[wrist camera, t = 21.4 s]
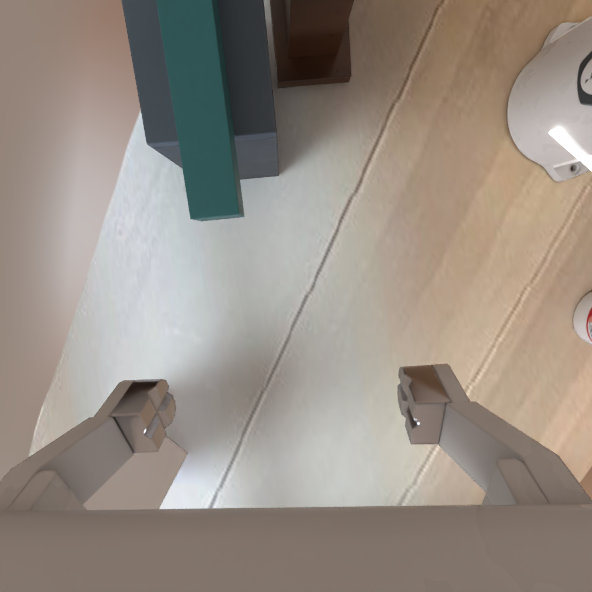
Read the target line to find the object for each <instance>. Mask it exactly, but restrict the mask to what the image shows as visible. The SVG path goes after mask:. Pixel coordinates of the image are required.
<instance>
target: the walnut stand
mask: <svg viewBox="0 0 592 592" xmlns="http://www.w3.org/2000/svg"><path fill="white" fill-rule="evenodd" d="M353 2H354V0H270V7H271V18H272V28H273V38H274V49H275V59H276V69H277V80H278V88H283V87H294V86H306V85H317V84H329V83H341V82H349V80H350V78H351V60H350V42H349V24H348V19H349V15H350V12H351V9H352V5H353Z"/></svg>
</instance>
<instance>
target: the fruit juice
mask: <svg viewBox="0 0 592 592" xmlns="http://www.w3.org/2000/svg"><path fill="white" fill-rule="evenodd" d="M573 324H574V329H575V331H576V333H577V335H578V336H579V337H580V338H581V339H582V340H583V341H585V342H586V343H588V344H590V345H592V291H591V292H589V293H588V294H587V295H585V296H584V297H583V298H582V300H581V301H580V302H579V304H578V305H577V307H576V310H575V312H574V317H573Z"/></svg>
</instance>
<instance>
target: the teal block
mask: <svg viewBox="0 0 592 592" xmlns="http://www.w3.org/2000/svg"><path fill="white" fill-rule="evenodd" d="M156 2H157V9H158V15H159V21H160V28H161V34H162V40H163V47H164V53H165V60H166V66H167V72H168V79H169V85H170V91H171V98H172V104H173V110H174V117H175V123H176V129H177V136H178V142H179V149H180V155H181V161H182V168H183V174H184V180H185V187H186V193H187V199H188V206H189V212H190V218H191V219H193V220H198V221H208V220H219V219H229V218H239V217H244V209H243V201H242V193H241V185H240V177H239V169H238V161H237V153H236V145H235V137H234V129H233V121H232V113H231V105H230V97H229V89H228V81H227V73H226V65H225V57H224V49H223V41H222V33H221V25H220V17H219V9H218V1H217V0H156Z"/></svg>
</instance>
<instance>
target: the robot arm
mask: <svg viewBox="0 0 592 592" xmlns="http://www.w3.org/2000/svg"><path fill="white" fill-rule="evenodd" d="M507 119H508V126H509V130H510V134H511V136H512V139H513V141H514V143H515V144H516V146H517V147H518V149H519V150H520V151H521V152H522V153H523V154H524V155H525V156H526V157H528V158H529V159H531V160H532V161H534V162H536V163H538V164H540V165H542V166H543V167H544V168H545V169H546V171H547V172H548V174H549V175H550V176H551V177H552V179H554V180H555V181H557V182H562V181H565V180H568V179H571V178H573V177H576V176H578V175H581V174H583V173H586V172H588V171H592V16H590V17H589V18H587V19H586V20H584V21H583V22H581V23H572V22H564V23H562V24H560V25H558V26H557V27H555V28H554V29H553V30H552V31H551V32H550V33H549V35H548V37H547V39H546V41H545V43H544V45H543V47H542V49H541V50H540V52H539V53H538V54H537V55H536V56H535V57H534V58H533V59H532V60H531V61H530V62H529V63H528V64H527V65H526V66H525V67H524V68H523V70H522V71H521V72H520V74H519V76H518V77H517V79H516V81H515V83H514V85H513V87H512V90H511V93H510V97H509V101H508V109H507ZM571 167H572V170H571V169H570V168H571ZM398 376H399V379H400V382H401V383H400V384H399V385H398V391H397V394H398V403H399V408H400V411H401V414H402V415H403V416H404V417H405V418H406V421H405V427H406V430H407V434H408V437H409V440H410V443H411V444H439V446H440V447H441V448H442V449H443V450H444V451H445V452H446V453H447V454H448V455H449V456H450V457H451V458H452V459H453V460H454V461H455V462H456V463H457V464H458V465H459V466H460V467H461V468H462V469H463V470H464V471H465V472H466V473H467V474H468V475H469V476H470V477H471V478H472V479H473V480H474V481H475V482H476V483H477V484H478V485H479V486H480V487H481V488H482V489H483V490H484V491H485V492H486V494H485V497H484V500H483V503H482V505H444V506H367V507H295V508H218V509H140V510H87V509H86V508H85V506H84V505H83V504H84V503H85V502H86V501H87V500H88V499H89V498H91V497H92V496H93V495H94V494H95V493H96V492H97V491H98V490H99V489H100V488H101V487H102V486H103V485H104V484H105V483H106V482H107V481H108V480H109V479H110V478H111V477H112V476H113V475H114V474H115V473H116V472H117V471H118V470H119V469H120V468H121V467H122V466H123V465H124V464H125V463H126V462H127V461H128V460H129V459H130V458H131V457H132V456H133V455H134V453H146V452H158V451H159V449H160V447H161V445H162V442H163V440H164V438H165V436H166V432H165V428H166V427H167V426H169V425H170V424H171V423H172V421H173V418H174V416H175V410H176V404H175V400H174V397H173V396H172V395H171V394H170V393H168V392H167V391H168V389H169V385H168V383H167V381H166V380H163V379H150V380H124V381H122V382H120V383H119V384H118V385H117V386H116V388H115V389H114V390H113V392H112V393H111V394H110V396H109V397H108V398H107V400H106V401H105V402H104V404H103V405H102V407H101V408H100V409H99V411H98V412H97V413H96V415H95V416H94V417H92V418H88V419H86V420H85V421H83V422H82V423H80V424H79V425H77V426H76V427H74V428H73V429H71V430H70V431H68V432H67V433H65V434H64V435H62V436H61V437H59V438H58V439H56V440H55V441H53V442H51V443H50V444H48V445H47V446H45V447H44V448H42V449H41V450H39V451H38V452H36V453H35V454H33V455H32V456H30V457H29V458H27V459H26V460H24V461H23V462H21V463H20V464H18V465H17V466H15V467H14V468H12V469H11V470H10V471H9V472H8V473H7V474H6V476H4V478H3V479H2V480H1V481H0V592H592V500H591V498H590V497H589V496H588V494H587V493H586V492H585V490H584V489H583V488H582V486H581V485H580V484H579V482H578V481H577V480H576V478H575V477H574V475H573V474H572V473H571V471H570V470H569V469H568V467H567V466H566V465H565V463H564V462H563V461H562V459H561V458H560V457H559V456H558V455H557V454H555V453H554V452H552V451H551V450H549V449H548V448H546V447H544V446H543V445H541V444H540V443H538V442H537V441H535V440H534V439H532V438H531V437H529V436H527V435H526V434H524V433H523V432H521V431H520V430H518V429H517V428H515V427H514V426H512V425H510V424H509V423H507V422H506V421H504V420H503V419H501V418H500V417H498V416H497V415H495V414H493V413H492V412H490V411H489V410H487V409H486V408H484V407H483V406H481V405H480V404H478V403H477V402H470V400H469V399H468V397H467V395H466V393H465V392H464V390H463V388H462V386H461V385H460V383H459V381H458V380H457V378H456V376H455V374H454V373H453V371H452V369H451V367H450V366H449V365H448V364H435V365H422V366H405V367H400V368H399V375H398Z"/></svg>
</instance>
